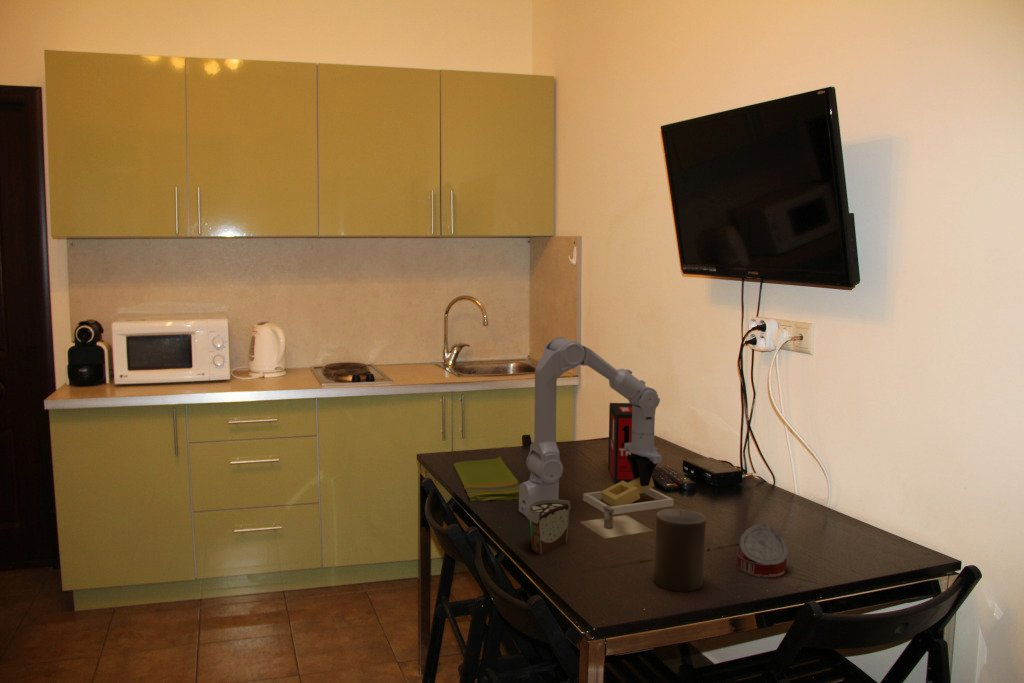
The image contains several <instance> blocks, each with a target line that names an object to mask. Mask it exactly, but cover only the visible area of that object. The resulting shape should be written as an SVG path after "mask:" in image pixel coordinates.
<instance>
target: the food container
mask: <svg viewBox="0 0 1024 683" xmlns="http://www.w3.org/2000/svg"><path fill="white" fill-rule="evenodd" d="M571 505H572V504H571V501H570V500H567V499H566V500H565V499H547V500H540V501H536V502H534V503H532V504H530V506H529V508H528V511H527V515H526V516H527V517H526V516H525V517H526V518H527V519H528V521H529V526H530V527H529V528H530V543H531V549H532V550H533V552H534V553H537V554H539V555H542V554H545V553H546V552H548V551H550V550H552V549H556V547H560V546H561V545H564V544H565V543H567V542H568V534H569V532H568V531H569V520H570V510H572V506H571Z"/></svg>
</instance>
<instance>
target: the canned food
mask: <svg viewBox="0 0 1024 683" xmlns="http://www.w3.org/2000/svg"><path fill="white" fill-rule="evenodd" d="M739 546H740V549H739V550H738V551H737V552H736V554H737V558H736V567H737V566H738V567H739V568H740V569H742V570H743V571H746V572H750V573H754V574H761V575H769V574H778V573H781V572H783V571H785V569H786V570H787V557H788V556H789V548H788V546H787V541H786V539H784V536H782V534H781V532H779V531H778V530H777V528H776V527H774V526H772V525H767V524H766V523H760V524H759V523H758V524H754V525H753V526H751V527H749V528H746V530H744V532H743V533H742V534H741V536H740V539H739Z"/></svg>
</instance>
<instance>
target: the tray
mask: <svg viewBox="0 0 1024 683" xmlns="http://www.w3.org/2000/svg"><path fill="white" fill-rule="evenodd" d="M601 491H602V490H600V491H591V492H585V493H583V494H582V498H583V499H582V501H583V502H586V503H587V504H589V505H590V506H592V507H594V508H596V509H597V510H599V511H601V512H602V513H604V506H609V507H610V508H612V509H614V513H613V516H614V515H623V514H626V513H634V512H640V511H641V512H642V511H649V510H655V509H661V508H669V507H674V504H675V503H674V502H675V499H674V498H672V497H671V496H668V495H665V494H664V493H662V492H660V491H658V490H656V489H654V488H653V487H652V488H650V489H648V490H646V491H644V492H642V493H640V494H639V495H641V494H645V495H646V496H649V497H651V498H653V499H655V500H647V501H642V502H635V503H634V502H632V503H630V504H626V505H619V506H610V505H609V504H607V503H605V502H603V501H602V500H603V499H602V495H601Z"/></svg>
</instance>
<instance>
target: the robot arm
mask: <svg viewBox="0 0 1024 683" xmlns="http://www.w3.org/2000/svg"><path fill="white" fill-rule="evenodd" d="M543 348H544V350H543V353H542V356H541V358H540V359H539V361H538V363H537V365H536V367H535V369H534V431H533V432H534V436H533V437H534V438H533V439H534V440H533V442H531V444H530V445H529V453H528V455H527V457H526V460H525V461H526V467H527V469H528V470H529V472H530V475H529V479H528V480H526V481H524V482H521V483H519V484H520V487H519V500H518V512H519V513H521V514H522V515H524V516H525V517H526V518H527V516H526V515H527V511H528V508H529V506H530V504H532V503H534V502H536V501H540V500H547V499H559V498H560V496H559V490H560V489H559V488H560V478H561V477H562V475H563V472H564V465H563V463H562V461H561V458H560V457H561V456H560V450H559V447H558V445H557V389H558V388H557V384H558V383H557V380H558V379H559V378H561V376H562V375H563V374H564V373H565V372H568V371H570V370H572V369H574V368H577V367H578V366H580V365H581V366H583V367H584V366H585V367H586V366H587V367H588V368H591V369H592V370H593V371H594V372H596V373H598V374H599V375H601V376H602V377H604V378H605V379H607V380H608V383H609V387H610V388H611V389H612V390H613V391H615V392H616V393H618V394H619V395H620V396H622V397H624V398H625V399H626V400H627V401H628V403H630V404H633V405H632V443H624V450H625V451H630V452H631V453H632V454H631V455H627V460H628V462H629V464H630V466H631V469H632V473H633V478H634V479H637V478H638V477H640V484H641V486H649V483H650V480H651V476H652V477H653V473H654V471H655V468H656V467H657V465H659V464H662V463H663V462H662V460H663V459H662V457H663V456H662V455H661V454H660V453H658V447H655V420H656V409H657V407H658V406H659V404H660V403H661V398H660V397H659V394H658V392H657V390H656V389H655V388H652V387H649V386H646V381H644V379H643V380H642V379H641V380H639V379H638V378H637V377H636V376H634V375H633V371H632V370H630V369H629V368H628V369H625V368H619V369H616V368H615V367H614V366H613V365H611V364H610V363H609V362H607V361H606V360H605V359H604V358H603V357H602V356H600V355H598V354H597V353H596V352H595V351H594V350H592V349H591V348H589V347H587V346H585V345H583V344H581V342H578V341H576V340H570V339H567V338H565V337H562V336H561V337H559V336H558V337H555V338H553V339H551V340H550V341H549V342H548V343H547V344H546V345H545V346H543ZM559 500H560V499H559Z"/></svg>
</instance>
